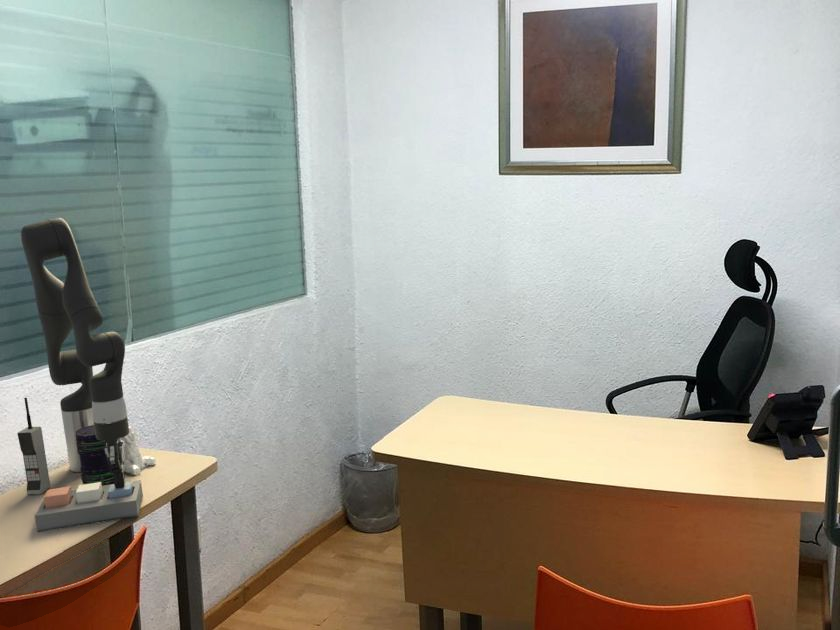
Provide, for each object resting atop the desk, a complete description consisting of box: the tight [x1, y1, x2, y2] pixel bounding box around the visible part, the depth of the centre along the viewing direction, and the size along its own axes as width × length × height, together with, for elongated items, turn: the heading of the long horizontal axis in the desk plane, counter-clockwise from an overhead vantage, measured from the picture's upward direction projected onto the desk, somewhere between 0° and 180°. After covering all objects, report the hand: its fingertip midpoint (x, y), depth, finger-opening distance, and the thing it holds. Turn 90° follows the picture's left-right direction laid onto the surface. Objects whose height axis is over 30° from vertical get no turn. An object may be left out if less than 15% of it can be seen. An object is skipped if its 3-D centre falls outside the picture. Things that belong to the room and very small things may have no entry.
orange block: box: [43, 486, 72, 508], centre depth 198 cm, size 5×5×4 cm
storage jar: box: [75, 425, 114, 486], centre depth 219 cm, size 10×10×15 cm
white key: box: [76, 482, 103, 503], centre depth 200 cm, size 5×5×4 cm
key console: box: [34, 479, 144, 533], centre depth 200 cm, size 14×22×4 cm, turn 104°
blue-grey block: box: [108, 481, 133, 498], centre depth 202 cm, size 5×5×4 cm
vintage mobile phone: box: [17, 397, 51, 495], centre depth 216 cm, size 4×5×25 cm
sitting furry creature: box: [121, 426, 156, 476], centre depth 229 cm, size 10×9×12 cm
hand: (120, 486), depth 201 cm, fingers closed
